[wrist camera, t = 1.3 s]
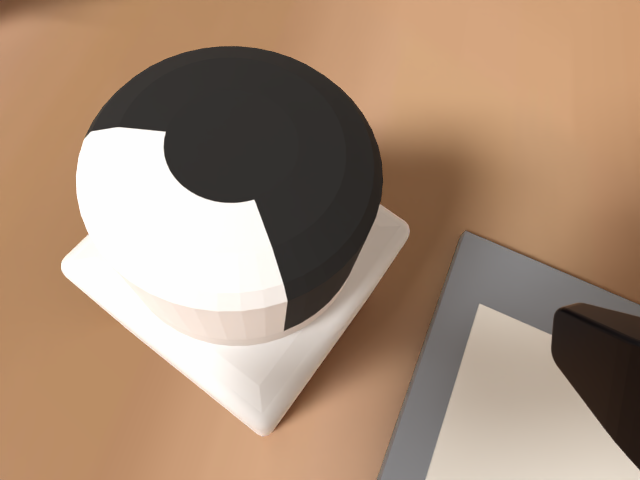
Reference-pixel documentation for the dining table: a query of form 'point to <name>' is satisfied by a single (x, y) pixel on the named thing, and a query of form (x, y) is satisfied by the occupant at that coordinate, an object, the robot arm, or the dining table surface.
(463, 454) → the label mat
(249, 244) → the medicine bottle
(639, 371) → the robot arm
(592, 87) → the dining table surface
